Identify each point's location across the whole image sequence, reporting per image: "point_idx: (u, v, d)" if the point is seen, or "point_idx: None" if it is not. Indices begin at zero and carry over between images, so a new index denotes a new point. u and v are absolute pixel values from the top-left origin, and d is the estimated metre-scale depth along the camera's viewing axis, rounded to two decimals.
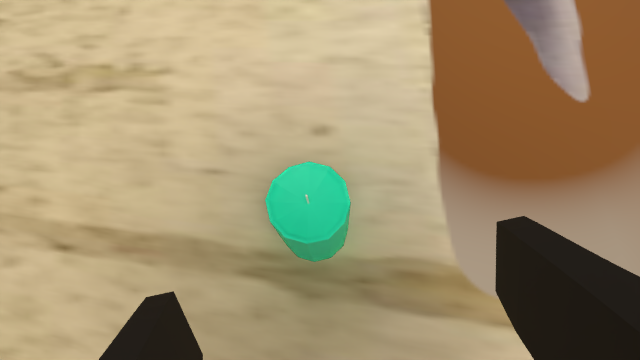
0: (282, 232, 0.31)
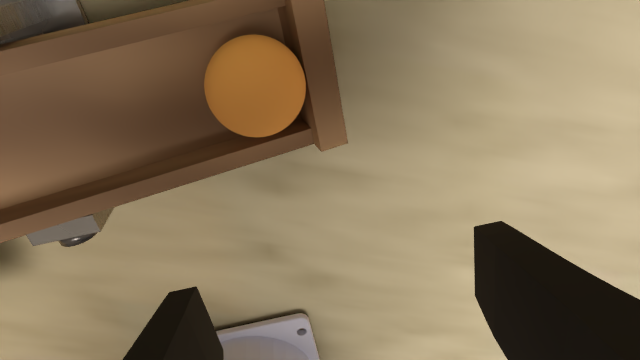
0: None
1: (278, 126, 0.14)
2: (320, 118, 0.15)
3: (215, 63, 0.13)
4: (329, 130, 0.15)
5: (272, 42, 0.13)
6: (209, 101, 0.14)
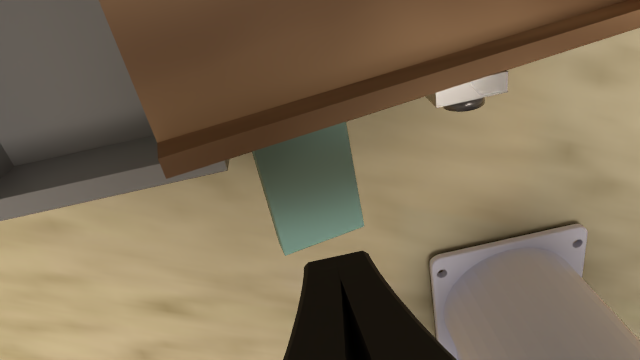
0: None
1: None
2: None
3: None
4: None
5: None
6: None
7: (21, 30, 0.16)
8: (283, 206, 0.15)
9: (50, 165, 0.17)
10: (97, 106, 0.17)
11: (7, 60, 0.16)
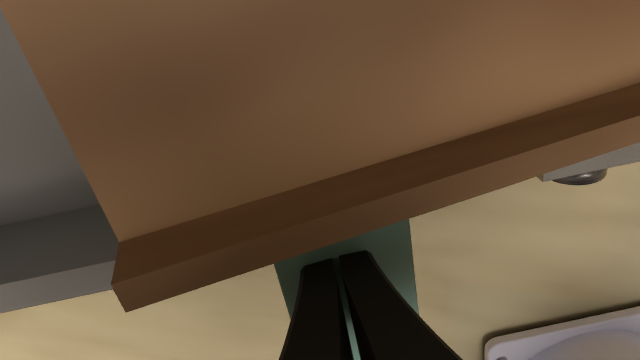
0: None
1: None
2: None
3: None
4: None
5: None
6: None
7: None
8: None
9: None
10: (49, 161, 0.12)
11: None
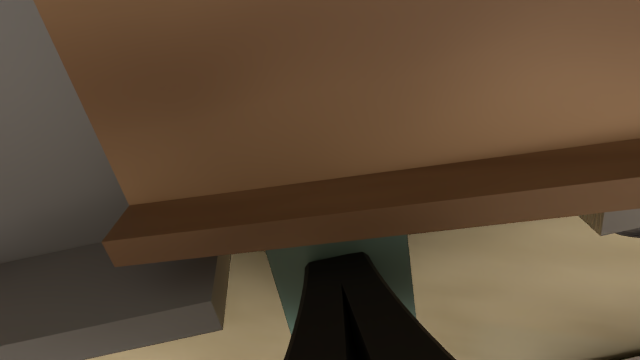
0: None
1: None
2: None
3: None
4: None
5: None
6: None
7: None
8: None
9: None
10: (10, 201, 0.10)
11: None
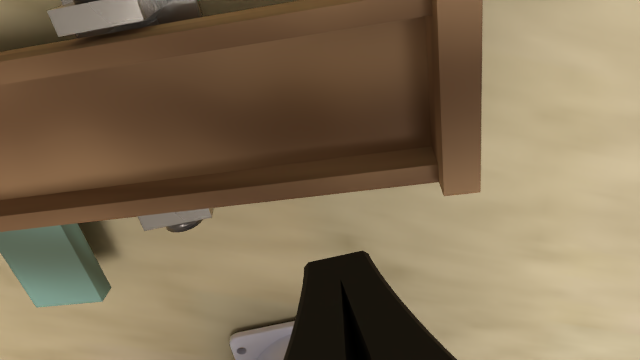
0: None
1: None
2: (450, 158, 0.12)
3: None
4: (459, 173, 0.12)
5: None
6: None
7: None
8: (22, 271, 0.18)
9: None
10: None
11: None
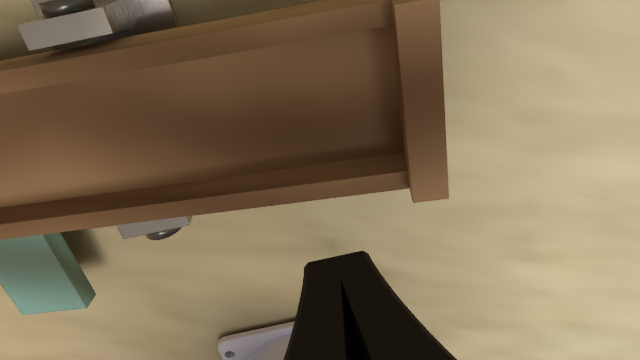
0: None
1: None
2: (417, 165, 0.12)
3: None
4: (426, 180, 0.12)
5: None
6: None
7: None
8: (7, 280, 0.18)
9: None
10: None
11: None
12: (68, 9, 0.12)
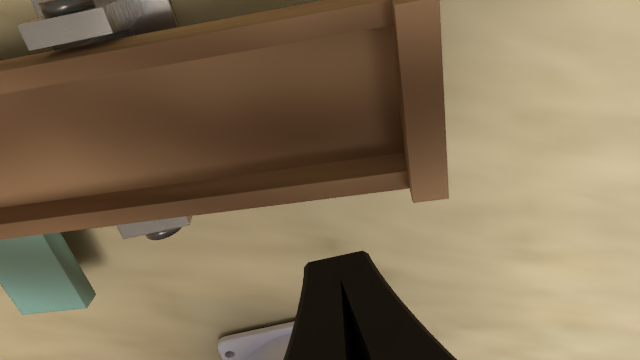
0: None
1: None
2: (417, 165, 0.12)
3: None
4: (426, 180, 0.12)
5: None
6: None
7: None
8: (7, 280, 0.18)
9: None
10: None
11: None
12: (68, 9, 0.12)
